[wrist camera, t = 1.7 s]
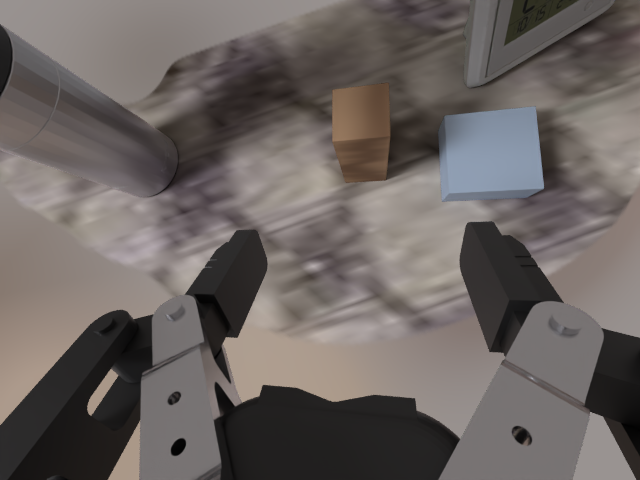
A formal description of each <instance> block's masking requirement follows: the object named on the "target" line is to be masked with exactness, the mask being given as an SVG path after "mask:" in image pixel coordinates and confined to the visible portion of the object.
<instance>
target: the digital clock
mask: <svg viewBox="0 0 640 480" xmlns="http://www.w3.org/2000/svg"><path fill="white" fill-rule="evenodd" d="M614 2H615V0H470V9H469V18H468V20H467V23H466V26H465V29H464V32H463V35H464V37H465V38H466V39H467V40H466V51H465V61H464V72H463V77H464V83H465V85H466V86H467V87H468V88H472V87H476V86H480V85H483V84H485V83H487V82H489V81H491V80H492V79H494V78H496V77H497V76H499V75H501V74H503V73H504V72H506V71H508V70H509V69H511V68H513V67H514V66H516V65H518V64H519V63H521V62H523V61H524V60H526V59H528V58H529V57H531V56H533V55H534V54H536V53H538V52H539V51H541V50H543V49H544V48H546V47H547V46H549V45H551V44H552V43H554V42H556V41H557V40H559V39H561V38H562V37H564V36H566V35H567V34H569V33H571V32H572V31H574V30H576V29H577V28H579V27H581V26H582V25H584V24H586V23H587V22H589V21H591V20H592V19H594V18H596V17H597V16H599V15H600V14H602V13H603V12H605V11H606V10H608V9H609V8H610V7H611V6H612V4H613V3H614Z"/></svg>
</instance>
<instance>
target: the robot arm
mask: <svg viewBox="0 0 640 480" xmlns="http://www.w3.org/2000/svg"><path fill="white" fill-rule="evenodd" d="M0 150H1V151H4V152H7V153H10V154H13V155H16V156H19V157H22V158H25V159H28V160H31V161H34V162H37V163H40V164H43V165H46V166H49V167H52V168H55V169H57V170H60V171H63V172H66V173H69V174H72V175H75V176H78V177H81V178H84V179H87V180H90V181H93V182H96V183H99V184H102V185H105V186H108V187H110V188H113V189H116V190H119V191H122V192H125V193H128V194H131V195H134V196H138V197H149V196H153V195H155V194H157V193H159V192H161V191H162V190H163V189H164V188H166V187H167V185H168V184H169V183H170V182H171V180H172V178H173V177H174V175H175V172H176V169H177V164H178V154H177V149H176V147H175V145H174V143H173V141H172V140H171V139H170V138H169V137H167V136H166V135H165V134H163V133H162V132H160V131H159V130H157V129H156V128H154V127H153V126H151V125H150V124H148V123H147V122H145V121H144V120H143V119H141V118H140V117H138V116H137V115H135V114H134V113H132V112H131V111H129V110H128V109H126V108H125V107H123V106H122V105H120V104H119V103H117V102H116V101H114V100H113V99H111V98H109V97H108V96H107V95H105V94H104V93H102V92H101V91H99V90H98V89H97V88H95V87H94V86H92V85H90V84H89V83H88V82H86V81H85V80H83V79H82V78H80V77H78V76H77V75H76V74H74V73H72V72H71V71H70V70H68V69H67V68H65V67H64V66H62V65H61V64H59V63H58V62H56V61H55V60H53V59H52V58H50V57H49V56H47V55H46V54H44V53H43V52H41V51H40V50H38V49H37V48H35V47H34V46H32V45H31V44H29V43H28V42H26V41H25V40H23V39H22V38H20V37H19V36H17V35H16V34H14V33H13V32H11V31H10V30H8V29H7V28H5V27H4V26H2V25H1V24H0ZM460 270H461V273H462V276H463V279H464V282H465V285H466V287H467V290H468V293H469V296H470V299H471V301H472V304H473V307H474V310H475V312H476V315H477V318H478V321H479V324H480V326H481V329H482V332H483V335H484V337H485V340H486V343H487V346H488V349H489V352H501V353H504V356H505V359H504V360H503V361H502V363H501V365H500V366H499V368H498V370H497V372H496V374H495V375H494V378H493V379H492V381H491V383H490V385H489V387H488V389H487V390H486V392H485V394H484V396H483V398H482V400H481V401H480V403H479V405H478V407H477V409H476V411H475V413H474V415H473V416H472V418H471V420H470V422H469V424H468V426H467V428H466V429H465V431H464V433H463V435H462V437H461V439H460V438H459V437H458V436H457V435H455V434H454V433H453V432H452V431H451V430H450V429H448V428H447V427H446V426H444V425H443V424H442V423H440V422H439V421H437V420H435V419H434V418H432V417H430V416H428V415H426V414H424V413H421V412H419V411H416V402H415V398H404V397H393V396H381V395H371V396H366V397H360V398H355V399H349V400H344V401H339V402H331V401H328V400H326V399H323V398H321V397H318V396H316V395H313V394H311V393H308V392H306V391H303V390H301V389H298V388H292V387H280V386H268V385H263V386H262V390H261V393H260V396H259V397H255V398H253V399H250V400H247V401H245V402H243V403H242V401H241V399H240V397H239V395H238V392H237V390H236V387H235V383H234V380H233V376H232V372H231V369H230V365H229V362H228V358H227V354H226V351H225V348H224V346H223V342H224V340H225V338H226V337H234V338H237V337H238V335H239V333H240V331H241V329H242V326H243V324H244V322H245V320H246V317H247V315H248V313H249V310H250V308H251V306H252V304H253V301H254V299H255V297H256V294H257V292H258V290H259V288H260V285H261V283H262V281H263V278H264V276H265V274H266V271H267V257H266V254H265V251H264V248H263V246H262V243H261V240H260V237H259V234H258V232H257V231H256V230H237V231H236V232H235V233H234V235H233V236H232V238H231V239H230V241H229V242H226V243H225V244H223V245H222V246H221V247H220V248H218V249H217V250H216V251H215V253H214V254H213V255H212V257H211V258H210V261H208V262H207V264H206V265H205V268H203V270H202V271H201V272H200V274H199V275H198V277H197V278H196V280H195V281H194V282H193V284H192V285H191V287H190V288H189V289H188V291H187V292H186V294H185V295H180V296H176V297H174V298H172V299H170V300H168V301H166V302H165V303H163V304H162V305H161V306H160V307H159V308H158V309H157V310H156V312H155V313H154V314H153V315H150V316H145V317H141V318H137V319H133V318H132V317H131V316H130V315H129V313H128V312H127V311H124V310H116V311H112V312H109V313H107V314H105V315H103V316H101V317H100V318H98V319H97V320H95V321H94V322H93V323H92V324H90V326H89V327H88V328H87V329H86V330H85V331H84V332H83V333H82V334H81V335H80V336H79V338H78V339H77V340H76V341H75V342H74V343H73V344H72V345H71V347H70V348H69V349H68V350H67V351H66V352H65V353H64V354H63V356H62V357H61V358H60V359H59V360H58V361H57V362H56V363H55V365H54V366H53V367H52V368H51V369H50V370H49V371H48V373H47V374H46V375H45V376H44V377H43V378H42V379H41V380H40V381H39V382H38V384H37V385H36V386H35V387H34V388H33V389H32V390H31V391H30V393H29V394H28V395H27V396H26V397H25V398H24V399H23V400H22V402H21V403H20V404H19V405H18V406H17V407H16V408H15V410H14V411H13V412H12V413H11V414H10V415H9V416H8V417H7V418H6V419H5V421H4V422H3V423H2V424H1V425H0V480H108V478H109V476H110V474H111V472H112V471H113V469H114V467H115V465H116V463H117V462H118V460H119V458H120V456H121V454H122V452H123V451H124V449H125V447H126V445H127V443H128V441H129V439H130V438H131V436H132V434H133V432H134V430H135V428H136V427H137V425H138V423H139V421H140V420H141V421H140V474H139V477H140V478H139V480H572V479H573V476H574V472H575V468H576V464H577V461H578V458H579V454H580V450H581V447H582V443H583V440H584V436H585V432H586V429H587V425H588V421H589V416H590V412H592V413H595V414H598V415H601V416H603V417H604V419H605V421H606V423H607V425H608V426H609V428H610V430H611V432H612V434H613V436H614V438H615V440H616V442H617V444H618V445H619V447H620V449H621V451H622V453H623V455H624V457H625V459H626V461H627V463H628V464H629V466H630V468H631V470H632V472H633V474H634V476H635V478H636V480H640V338H638V337H634V336H630V335H626V334H622V333H618V332H614V331H610V330H606V329H603V328H601V327H600V325H599V324H598V323H597V322H596V321H595V320H594V319H593V318H592V317H591V316H590V315H588V314H587V313H585V312H584V311H582V310H580V309H578V308H576V307H574V306H571V305H568V304H565V303H564V302H563V301H562V300H561V298H560V297H559V295H558V294H557V292H556V291H555V290H554V288H553V287H552V285H551V284H550V282H549V281H548V279H547V278H546V276H545V275H544V273H543V272H542V271H541V269H540V268H539V267H538V265H537V263H536V262H535V260H534V259H533V258H531V255H530V253H529V252H528V250H527V249H526V247H525V246H524V245H523V244H522V243H521V242H519V241H518V240H516V239H515V238H513V237H512V236H510V235H501V233H500V232H499V230H498V228H497V227H496V225H495V224H494V222H492V221H490V222H468V223H467V225H466V228H465V233H464V238H463V243H462V248H461V253H460ZM110 369H112V370H113V371H115V372H116V373H117V374H118V375H119V376H118V377H117V379H116V380H115V382H114V383H113V385H112V386H111V388H110V389H109V391H108V392H107V394H106V395H105V397H104V398H103V400H102V401H101V403H100V404H99V405H98V407H97V408H96V410H95V411H94V413H93V414H92V416H90V415H89V414H88V411H87V405H88V402H89V399H90V397H91V396H92V394H93V393H94V391H95V390H96V389H97V387H98V386H99V384H100V383H101V382H102V380H103V379H104V377H105V376H106V375H107V373H108V371H109V370H110Z"/></svg>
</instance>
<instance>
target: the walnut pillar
mask: <svg viewBox="0 0 640 480" xmlns="http://www.w3.org/2000/svg"><path fill="white" fill-rule="evenodd" d="M332 135H333V145H334V148H335V151H336V154H337V157H338V160H339V163H340V166H341V170H342V173H343V176H344V179H345V182H346V183H350V182H366V181H382V180H386V174H387V164H388V155H389V145H390V107H389V83H382V84H374V85H366V86H358V87H351V88H343V89H335V90H332Z"/></svg>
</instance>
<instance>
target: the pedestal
mask: <svg viewBox="0 0 640 480" xmlns="http://www.w3.org/2000/svg"><path fill="white" fill-rule="evenodd" d="M438 138H439V156H440V175H441V193H442V202H444V201H466V200H487V199H509V198H527V197H529V196H531V195H533V194H535V193H537V192H538V191H540V190H542V189H544V183H543V173H542V163H541V154H540V144H539V135H538V125H537V115H536V106H534V107H524V108H514V109H504V110H495V111H485V112H475V113H465V114H456V115H446V116H444V118H443V121H442V123H441V125H440V128H439V130H438Z"/></svg>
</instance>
